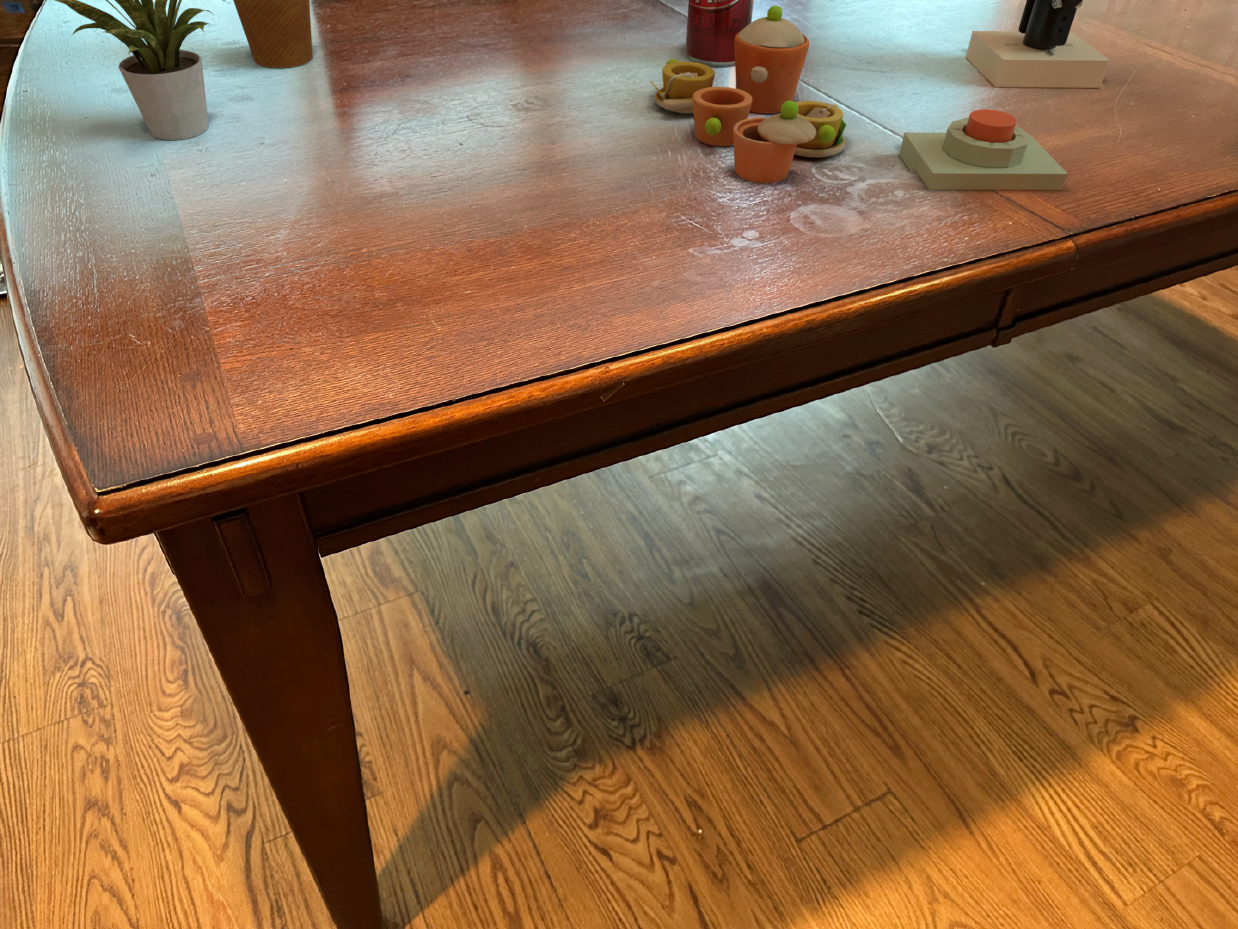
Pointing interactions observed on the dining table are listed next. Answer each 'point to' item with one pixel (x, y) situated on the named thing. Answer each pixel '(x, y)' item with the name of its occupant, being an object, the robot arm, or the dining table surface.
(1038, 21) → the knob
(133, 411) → the dining table surface
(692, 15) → the soda can
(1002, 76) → the beige slotted block
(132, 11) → the house plant
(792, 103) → the toy tea set
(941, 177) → the button housing
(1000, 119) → the button
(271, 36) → the disposable coffee cup
